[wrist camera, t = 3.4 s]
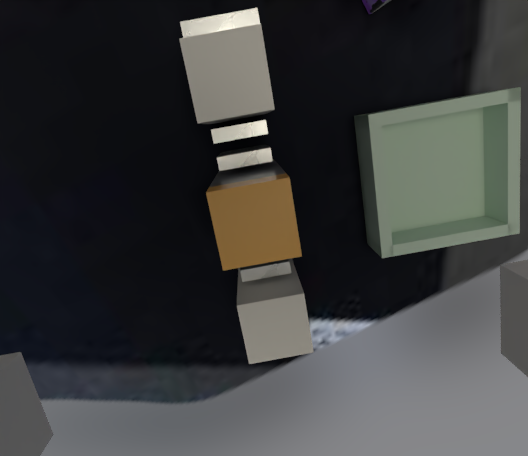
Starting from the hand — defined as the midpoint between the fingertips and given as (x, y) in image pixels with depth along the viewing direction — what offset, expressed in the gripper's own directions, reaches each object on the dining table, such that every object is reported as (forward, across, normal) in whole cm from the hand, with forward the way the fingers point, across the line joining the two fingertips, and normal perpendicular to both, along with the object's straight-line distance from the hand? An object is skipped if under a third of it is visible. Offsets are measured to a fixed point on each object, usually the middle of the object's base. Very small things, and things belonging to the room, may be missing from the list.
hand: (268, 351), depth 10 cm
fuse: (+25, 0, 0) cm, 25 cm away
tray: (+25, +16, -1) cm, 30 cm away
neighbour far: (+25, 0, -9) cm, 26 cm away
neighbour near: (+25, 0, +9) cm, 27 cm away
